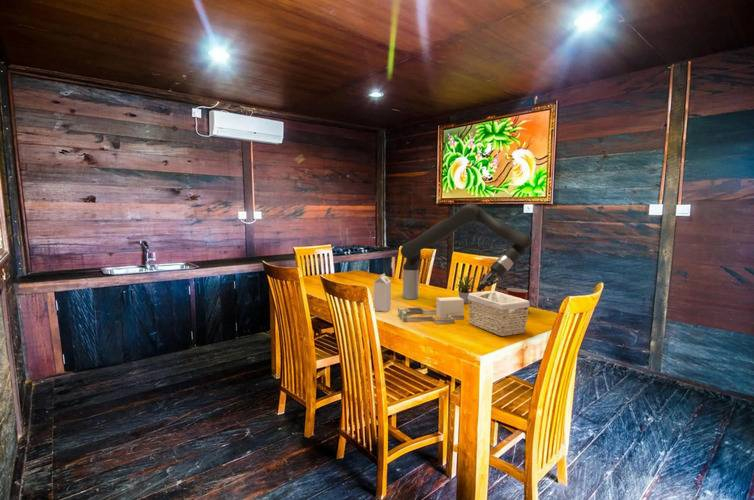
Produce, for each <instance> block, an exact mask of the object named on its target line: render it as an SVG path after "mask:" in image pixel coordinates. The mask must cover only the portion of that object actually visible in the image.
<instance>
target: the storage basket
mask: <svg viewBox="0 0 754 500" xmlns="http://www.w3.org/2000/svg"><path fill="white" fill-rule="evenodd" d="M468 300H469V303H468V315H469V317H468V320H469V324H471V325H472V326H475V327H477V328H480V329H482V330H486V331H487V332H490V333H492V334H495V335H496V336H498V337H499V336H500V337H505V336H506V337H508V336H512V335H513V336H515V335H517V334H524V333H525V332H526V326H527V319H528V313H529V309H530V301H529V300H528V299H525V300H524V299H521V298H518V297H514V296H510V295H508V293H503V292H499V291H496V290H487V291H481V292H479V291H477V292H471V293H469V295H468Z"/></svg>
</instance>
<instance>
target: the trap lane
mask: <svg viewBox="0 0 754 500" xmlns="http://www.w3.org/2000/svg"><path fill="white" fill-rule="evenodd" d="M397 309H398V310H397V316H398V317H399V318H400V319H401V320H402V322H403V323H409V322H410V323H411V322H412V323H413V322H416V323H417V322H430V321H432V322H433V323H434V324H435V325H446V324H448V325H449V324H455V323H456V321H457V320H465V314H464V313H463V314H459V315H447V318H441V319H440V318H438V317H436V316H434V315H436V309H425V308H423V307H421V306H420V307H419V306H418V307H417V306H414V307H404V308H402V306H400V307H397ZM411 315H418V316H411ZM420 315H421V316H420ZM455 320H456V321H455Z"/></svg>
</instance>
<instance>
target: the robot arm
mask: <svg viewBox="0 0 754 500" xmlns="http://www.w3.org/2000/svg"><path fill="white" fill-rule="evenodd" d="M471 222H477V223H480V224H481V225H483V226H485V227H486V228H487V229H488V230H489V231H490V232H492V233H493V234H494V235H496V236H497V237H499V238H500V239H502V240H504V241H506V242H512V243H513V245H512V246H511V247H510V248H508V249H507V250H505V252H504V253H502V254H501V256H500V257H498V258H497V259H496V260H495V261H494V262H493V263H492V264H491V265H490V267H489V268H490V270H489V271H487V273H483V274H482V276H481V278H480V281H479V282H480V284H479V285H478V286H477V287H476V288H475V289H476V290H477V292H483V290H484V289H485V288H486V287H488V288H490V287H491V286H493V285H495V284H497V283H498V282H499V281H498V278H502V277H503V276H504V275H505V274H506V273H507V272H508V271H509V270H510V269H511V267H513V265H514V264H515V263H516V262H517V261H518V260H519V258H520V257H521V256H522V255H524V254H525V253H526V252H527V251H528V250H529V249H530V247H531V246H532V244H533V238H532V237H531V236H530V235H529V234H528V233H525V232H523V231H520V230H517V229H514V228H512V227H511V226H509V225H507V224H505V223H504V222H501V221H500V220H498V219H497V218H495V217H493V216H491V215H490V214H489V213H487V212H486V211H484V209H482V208H481V207H479V205H477V204H475V203H467V204H465V205H463V206H462V207H461V208H459V210H457V211H456V212H455V213H454V214H452V215H451V216H449V217H447V218H446V219H443V220H441V221H439V222H437V223H436V224H434V225H433V226H431V227H430V228H428V229H427V230H425V231H424V232H423V233H422V234H420V235H419V236H417V237H416V238H414V239H412V240H410V241H408V242H406V243H404V244H403V245H402V246H401V249H400V254H401V256H402V258H403V257H404V258H405V259H406V261H405V262H404V263H403V268H402V271H403V272H402V298H403V299H406V300H417V299H419V280H420V279H419V273H420V272H419V270H420V269H419V268H420V265H421V259H422V258H421V254H422V253H421V252H422V250H424V249H426V248H428V247H430V246H433V245H435V244H437V243H440V242H441V241H442V240H444V239H446V238H447V237H448V236H450V235H451V234H453V232H455V231H456V230H457V229H459V228H461V227H463V226H465V225H466V224H470V223H471Z"/></svg>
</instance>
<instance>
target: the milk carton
mask: <svg viewBox="0 0 754 500" xmlns="http://www.w3.org/2000/svg"><path fill="white" fill-rule="evenodd" d="M391 298H392V281H391V280H390V279H389V277H388V276H387V275H386V273H385V272H384V273H382V274H380V275H379V277H378V278H377V279H376V280H375V281H374V282H373V309H374V308H375V312H383V313H384V312H385V313H386V312H388V311H390V310H391V308H392V307H391V305H392V299H391Z"/></svg>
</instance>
